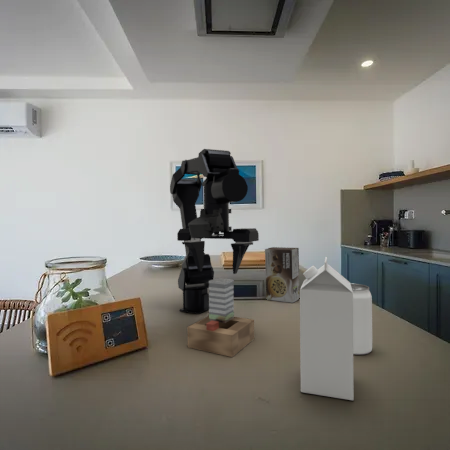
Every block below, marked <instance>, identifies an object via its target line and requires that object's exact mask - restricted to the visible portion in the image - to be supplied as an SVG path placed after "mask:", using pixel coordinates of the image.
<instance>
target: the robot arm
mask: <svg viewBox="0 0 450 450" xmlns="http://www.w3.org/2000/svg"><path fill="white" fill-rule="evenodd" d="M231 153H232V152H231V151H229V150H225V149H224V150H223V149H222V150H221V149H211V148H203V149H202V150H200V152H198V155H197V157H194V158H190V159H184V160H182V161H181V165H180V167H179V168H178V169H177V170H176V171H175V172H174V173H173V174H172V176H171V180H170V183H169V192H170V194H171V195H172V196H171V197H172V202H173V203H174V205H176V206H177V207H178V208H179V213H180V220H181V221H180V222H181V228H180V229H178V231H177V241H179V242H181V244H182V245H184V250H185V257H184V259H183V261H182V263H181V269H180V272H179V276H178V279H177V285H178V286H177V287H178V289H179V290H181V291H182V307H181V308H180V309H179V311H180V312H184V313H190V314H196V315H198V314H202V313H204V312H207V311H209V281H210V280H213V279H214V277H215V276H214V275H215V271H214V268H213V266H212V262H211V261H212V260H211V256H210V254H209V253H205V244H206V242H205V241H206V240H203V239H214V240H215V239H216V240H217V239H218V240H232V241H233V242H232V243H230V246H231V248H232V273H233V275H236V274H237V273H238V271H239V268H240V266H241V264H242V261H243V259H244V256H245V254H246V252H247V251H248V249H249V246H251V245H254V242H259V240H260V239H259V237H260V236H259V231H258V230H257V228H256V227H255V228H250V227H249V228H247V227H245V228H243V227H241V228H233V227H232V226H230V216H229V215H230V214H232V208H230V206H229V204H231V203H237V202H241V201H242V200H244V199H245V197H246V196H247V194H248V190H249V189H248V188H249V187H248V184H247V180H246V179H245V177H243V176H242V175H241V174H240V169H239V168H238V167H237V164H236V162H235V159H234V157H233V156H232V154H231ZM185 175H193V176H194V175H196V179H194V178H193V179H190V178H189V179H188V178H184V177H185ZM200 175H202V176H203V177H205V179H204V180H201V176H200ZM202 181H203V182H202ZM202 187H203V208H201V209H200V210H199V211H200V213H199V216H198V213H197V207H196V204H197V201H198V199H199V197H200V191H201V189H202ZM232 228H233V229H232Z"/></svg>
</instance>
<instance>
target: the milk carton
mask: <svg viewBox="0 0 450 450" xmlns="http://www.w3.org/2000/svg"><path fill="white" fill-rule="evenodd" d="M302 275H303V276H304V277H305V279H304V280H303V282H302V284H301V286H300V287H299V297H300V299H299V346H300V348H299V350H300V351H299V353H300V354H299V357H300V360H299V362H300V364H299V367H300V368H299V371H300V393H304V394H311V395H317V396H324V397H329V398H330V397H331V398H335V399H341V400H346V401H347V400H349V401H354V400H355V399H354V389H355V388H354V354H353V291H352V287H351V284H352V283H351V282H350V281H349V280H348V279H347V278H345V277H344V276H343V275H342V274H341V273H339V272H338V271H337V270H336V269H335V268H334V267H332V266H331V265H330V264H329V263H328V256H325V258H324V264H323V265H322V266H320V267H319V268H317V267H316V266H315V265H312V266H310V267H309V268H307V269H306V270H305V271H304V272H303V274H302Z"/></svg>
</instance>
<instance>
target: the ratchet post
mask: <svg viewBox="0 0 450 450" xmlns="http://www.w3.org/2000/svg"><path fill="white" fill-rule="evenodd" d="M234 286H235V285H234V279H233V278H222V277H217V278H213V280H210V281H209V288H208V294H209V309H208V312H209V314H208V316H209V318H210V321H218V322H221V323H226V322H228V321H230V320H231V319H233V318H234V317H235V311H234V310H235V306H234V304H235V301H234V298H235V296H234V294H235V291H234V288H235V287H234Z"/></svg>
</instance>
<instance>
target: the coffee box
mask: <svg viewBox="0 0 450 450" xmlns="http://www.w3.org/2000/svg"><path fill="white" fill-rule="evenodd" d="M299 249H300V248H299V247H282V246H281V247H279V246H278V247H277V246H276V247H275V246H272V247H268V248H265V249H264V259H265V263H264V264H265V265H264V266H265V267H264V268H265V300H266V299H267V301H275V302H282V303H283V302H284V303H291V304H294V303H295V302H298V300H300V299H299V298H300V263H299V262H300V261H299V260H300V257H299V255H300V254H299V253H300V252H299Z"/></svg>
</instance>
